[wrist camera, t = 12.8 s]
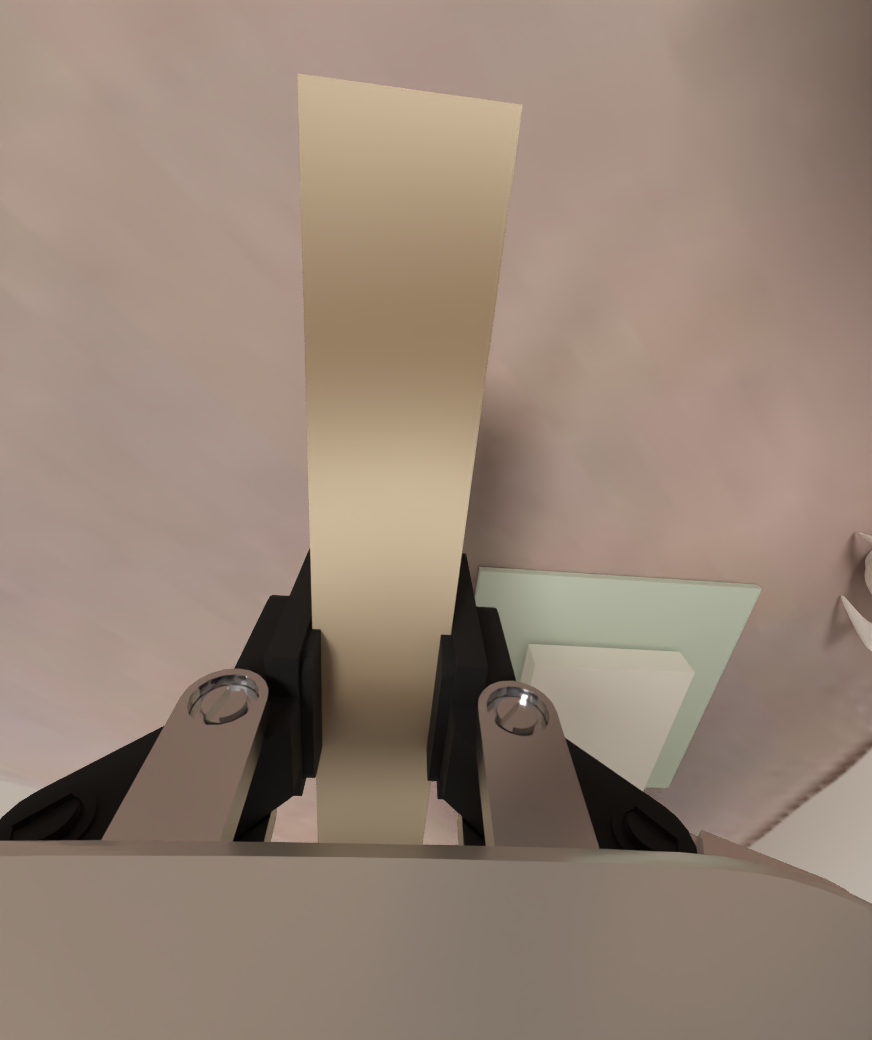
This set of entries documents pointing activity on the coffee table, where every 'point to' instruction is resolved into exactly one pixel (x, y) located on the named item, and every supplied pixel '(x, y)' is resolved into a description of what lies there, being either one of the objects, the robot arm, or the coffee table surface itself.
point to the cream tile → (612, 700)
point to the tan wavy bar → (392, 414)
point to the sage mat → (626, 628)
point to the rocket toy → (865, 629)
